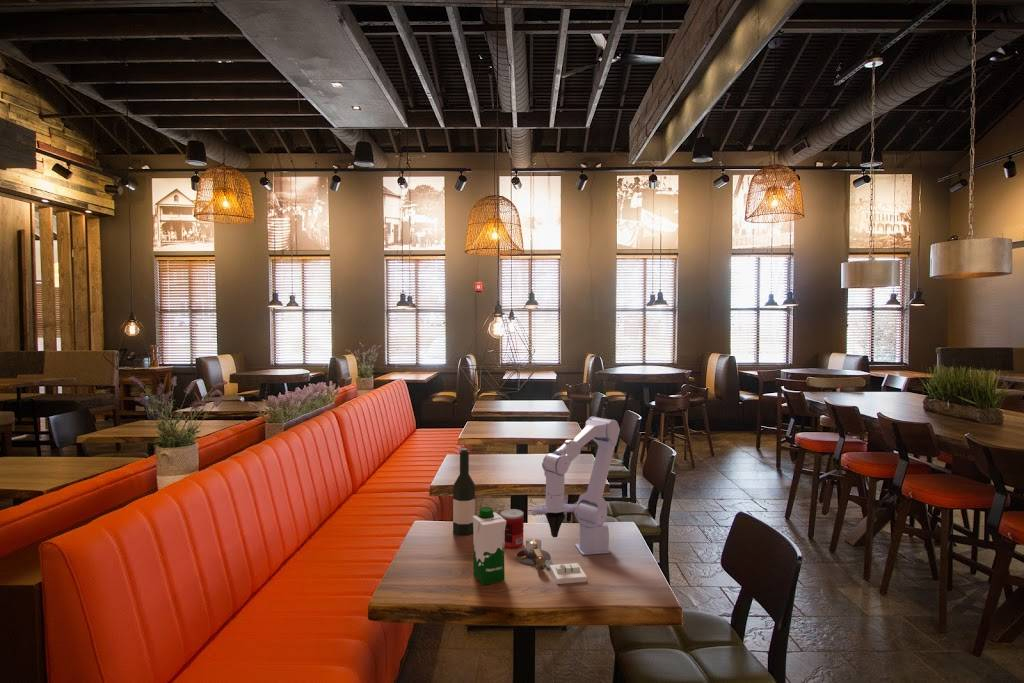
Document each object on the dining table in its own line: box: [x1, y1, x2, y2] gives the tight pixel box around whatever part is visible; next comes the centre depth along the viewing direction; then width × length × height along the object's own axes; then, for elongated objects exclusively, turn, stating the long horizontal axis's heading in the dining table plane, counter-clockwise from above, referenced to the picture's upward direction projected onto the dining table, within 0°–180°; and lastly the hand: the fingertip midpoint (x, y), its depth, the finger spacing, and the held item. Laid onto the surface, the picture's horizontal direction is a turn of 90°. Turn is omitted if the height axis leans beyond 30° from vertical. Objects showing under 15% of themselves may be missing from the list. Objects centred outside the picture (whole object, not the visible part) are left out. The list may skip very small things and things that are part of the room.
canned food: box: [500, 508, 525, 550], centre depth 186 cm, size 8×8×11 cm
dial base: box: [516, 548, 554, 571], centre depth 175 cm, size 11×14×1 cm
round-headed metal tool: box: [525, 538, 546, 571], centre depth 172 cm, size 14×5×5 cm, turn 10°
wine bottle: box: [452, 447, 476, 537], centre depth 197 cm, size 8×8×30 cm
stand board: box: [548, 562, 588, 585], centre depth 164 cm, size 9×9×4 cm
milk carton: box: [472, 506, 506, 586], centre depth 162 cm, size 9×9×20 cm
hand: (554, 536), depth 170 cm, fingers closed
